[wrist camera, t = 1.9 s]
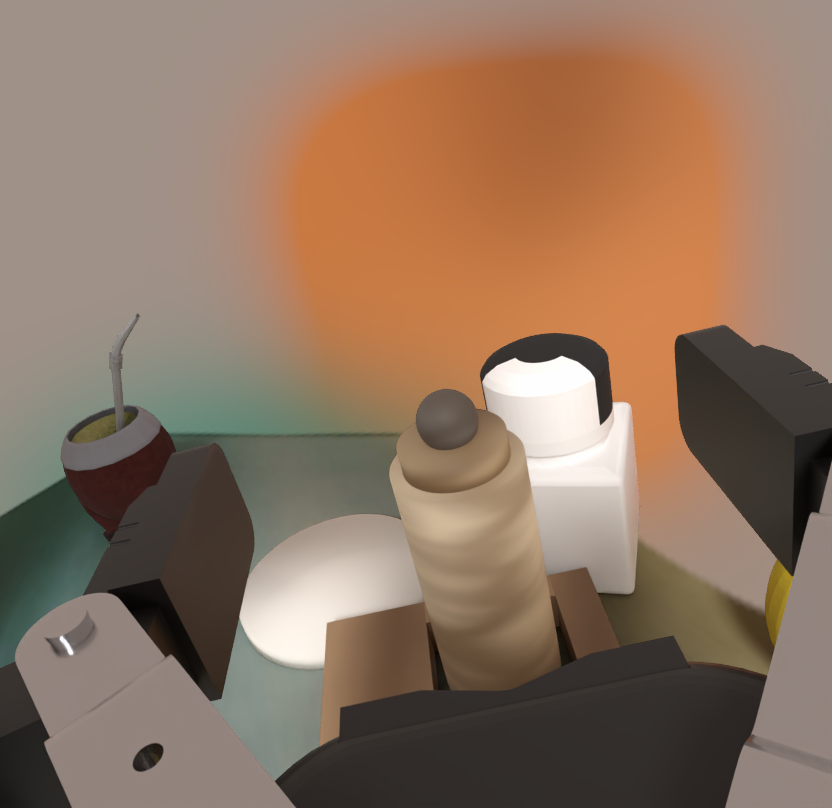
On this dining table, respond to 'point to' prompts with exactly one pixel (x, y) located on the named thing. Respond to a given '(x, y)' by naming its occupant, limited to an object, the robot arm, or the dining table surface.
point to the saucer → (326, 585)
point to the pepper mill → (475, 544)
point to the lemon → (777, 599)
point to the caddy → (435, 647)
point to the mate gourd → (115, 452)
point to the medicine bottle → (572, 453)
